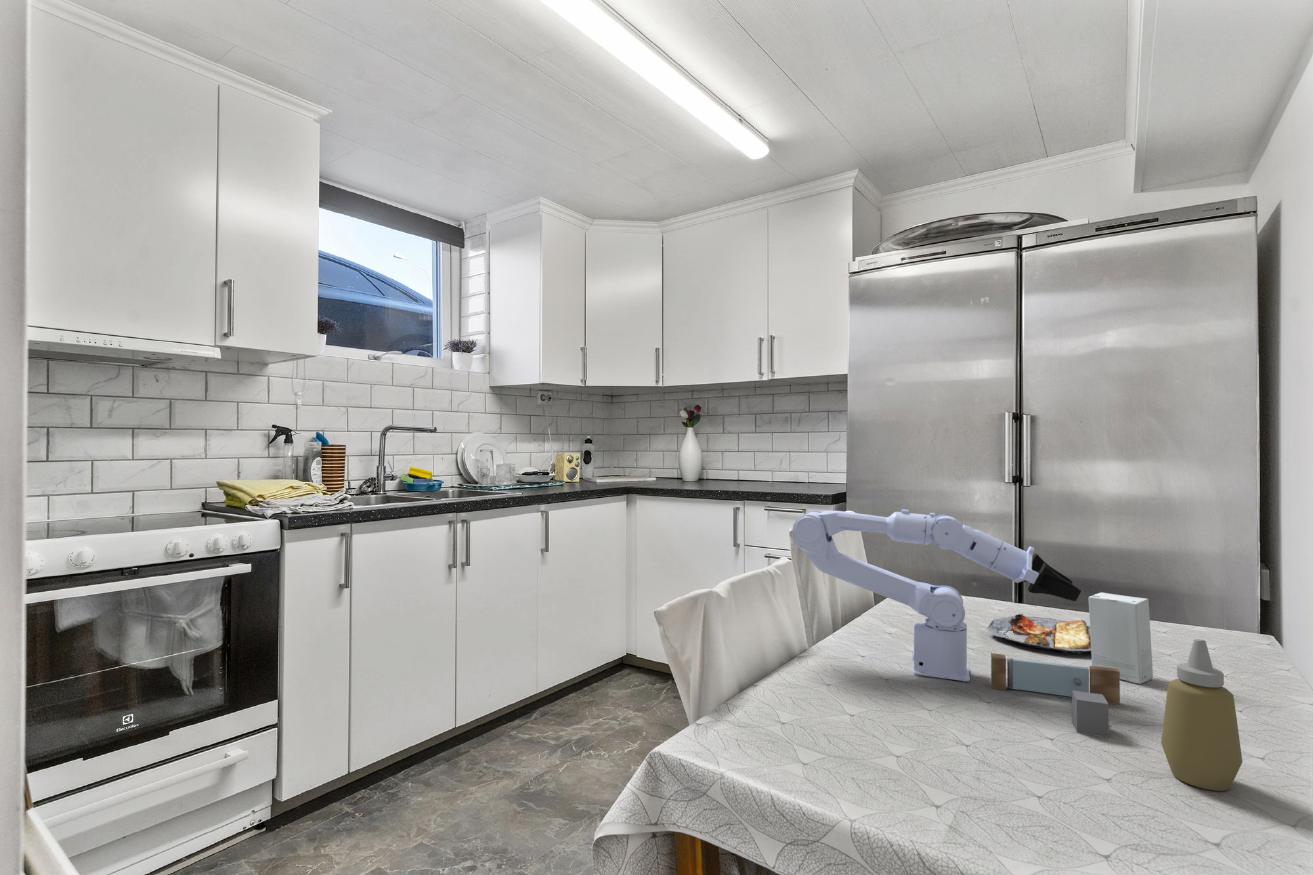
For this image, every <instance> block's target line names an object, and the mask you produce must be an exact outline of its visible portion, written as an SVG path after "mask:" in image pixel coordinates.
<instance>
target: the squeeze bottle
mask: <svg viewBox="0 0 1313 875" xmlns="http://www.w3.org/2000/svg"><path fill="white" fill-rule="evenodd" d="M1176 677H1177V678H1175V679H1173V680H1171V681H1170V682H1168V683H1167V690H1166V699H1165V707H1164V713H1163V714H1164V715H1163V723H1162V731H1161V740H1160V744H1161V747H1162V750H1163V752H1164V755H1165V757H1166V761H1167V763H1168V765H1169V768H1170V771H1171V773H1172V775H1173V776H1174V777H1175V778H1176V779H1178V780H1179V781H1181V782H1183V783H1186V784H1188V785H1191V786H1193V787H1197V788H1200V789H1204V790H1210V791H1218V792H1219V791H1220V792H1221V791H1228V790H1230V789H1231V787H1232V785H1233V783H1234V781H1235V779H1236V777H1237V775H1238V773H1239V770H1240V768H1241V766H1242V764H1243V757H1242V756H1243V754H1242V748H1241V741H1240V733H1239V725H1238V718H1237V711H1236V704H1235V697H1234V696H1235V695H1234V694H1233V693H1232V692H1231V691H1230V690H1229V689H1227V688H1226V687H1225V686H1224V684H1225V673H1224V672H1223V671H1222V670H1220V669H1218V668H1215V667H1213V663H1212V658H1211V656H1210V652H1209V649H1208V645H1207V642H1206V640H1204V639H1200V638H1199V639H1197V638H1194V639H1193V642H1192V646H1191V648H1190V653H1189V655H1188V659H1187V662H1184V663H1183V662H1181V663H1178V664H1177V665H1176Z"/></svg>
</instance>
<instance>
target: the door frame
mask: <svg viewBox="0 0 1313 875" xmlns="http://www.w3.org/2000/svg"><path fill="white" fill-rule="evenodd" d="M1120 681H1121V679H1120V671H1119V670H1118V669H1114V668H1105V667H1097V666H1092V665H1089V693H1095V694H1102V695H1103V696H1104V698H1105V699H1106V701H1107V702H1108V704H1111V705H1118V706H1120V705H1121V700H1120V699H1121V686H1120V685H1121V682H1120ZM990 685H991V688H992V689H995V690H1001V691H1007V657H1006V655H1005V654H1003V653H994V652H993V653H992V652H991V653H990Z"/></svg>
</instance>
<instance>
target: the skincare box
mask: <svg viewBox="0 0 1313 875" xmlns="http://www.w3.org/2000/svg"><path fill="white" fill-rule="evenodd" d="M1149 604H1150V601H1149V598H1146V597H1145V598H1144V597H1136V596H1128V595H1122V594H1121V595H1120V594H1115V593H1114V594H1113V593H1107V592H1103V591H1102V592H1098V593H1095V594H1092V595H1091V596H1088V615H1089V627H1090V636H1091V651H1090V653H1091V666H1097V667H1105V668H1114V669H1118V670H1119V671H1120V680H1122V681H1126V682H1130V683H1134V684H1140V685H1142V684H1143V683H1145V682H1148V681H1151V680H1153V676H1154V669H1153V652H1152V636H1151V635H1152V634H1151V621H1150V620H1151V618H1150V605H1149Z"/></svg>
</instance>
